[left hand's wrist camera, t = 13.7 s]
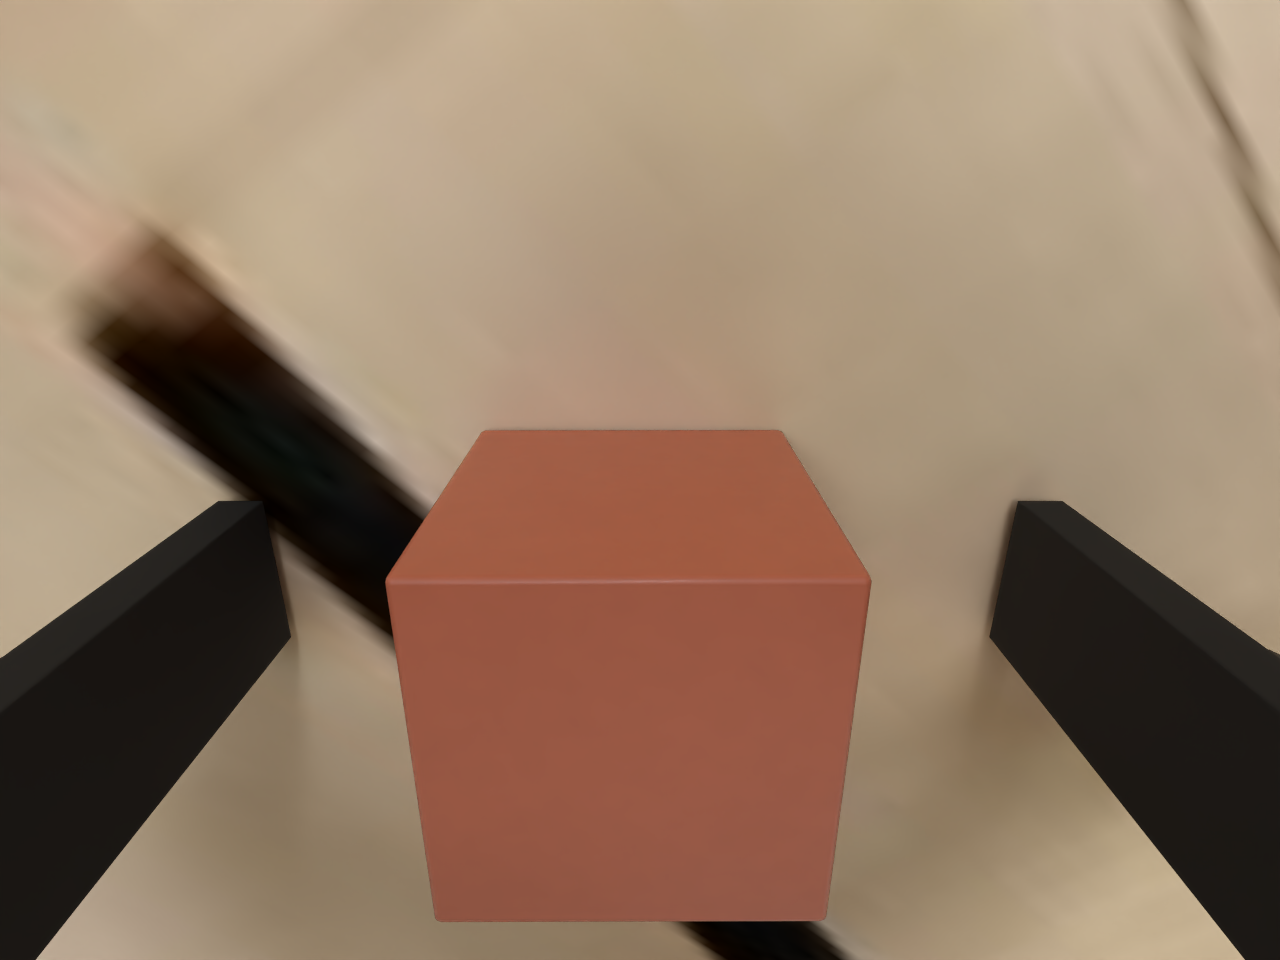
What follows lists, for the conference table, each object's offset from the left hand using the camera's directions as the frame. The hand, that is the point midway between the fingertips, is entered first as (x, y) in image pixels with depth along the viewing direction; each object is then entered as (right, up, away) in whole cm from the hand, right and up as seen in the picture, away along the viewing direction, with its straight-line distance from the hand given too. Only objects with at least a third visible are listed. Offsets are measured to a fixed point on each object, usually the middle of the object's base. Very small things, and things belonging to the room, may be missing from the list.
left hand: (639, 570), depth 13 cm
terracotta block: (0, 0, 0) cm, 0 cm away
